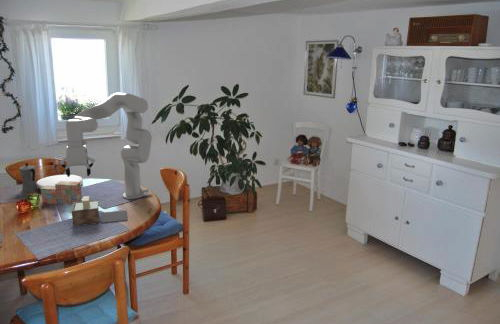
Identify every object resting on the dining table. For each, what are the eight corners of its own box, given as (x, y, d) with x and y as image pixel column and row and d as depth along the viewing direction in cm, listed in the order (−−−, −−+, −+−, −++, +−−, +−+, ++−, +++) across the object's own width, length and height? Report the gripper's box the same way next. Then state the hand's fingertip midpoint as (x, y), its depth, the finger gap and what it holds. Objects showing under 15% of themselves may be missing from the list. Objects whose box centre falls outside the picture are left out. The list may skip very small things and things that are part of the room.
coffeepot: (17, 190, 263) (13, 162, 258) (32, 186, 270) (29, 159, 266) (29, 195, 254) (25, 167, 249) (44, 191, 261) (41, 163, 257)
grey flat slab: (126, 210, 231) (126, 210, 231) (127, 220, 218) (127, 219, 218) (101, 213, 227) (101, 212, 227) (101, 223, 214) (101, 222, 214)
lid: (98, 202, 224) (97, 194, 222) (97, 209, 214) (96, 200, 212) (76, 204, 220) (75, 196, 219) (74, 212, 210) (73, 203, 209)
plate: (67, 171, 288) (91, 177, 275) (67, 180, 290) (91, 187, 276) (27, 176, 265) (52, 184, 251) (27, 186, 266) (52, 194, 252)
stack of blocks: (42, 203, 241) (39, 183, 238) (48, 199, 247) (45, 180, 244) (77, 205, 239) (75, 185, 236) (82, 201, 245) (80, 181, 242)
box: (98, 214, 226) (97, 200, 224) (98, 223, 214) (96, 208, 212) (75, 216, 223) (73, 202, 221) (73, 226, 211) (71, 211, 209)
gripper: (94, 141, 216) (97, 173, 220) (59, 142, 213) (62, 174, 217) (92, 144, 209) (95, 177, 213) (55, 145, 206) (59, 178, 210)
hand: (78, 175), depth 215 cm, fingers open, 9 cm apart
